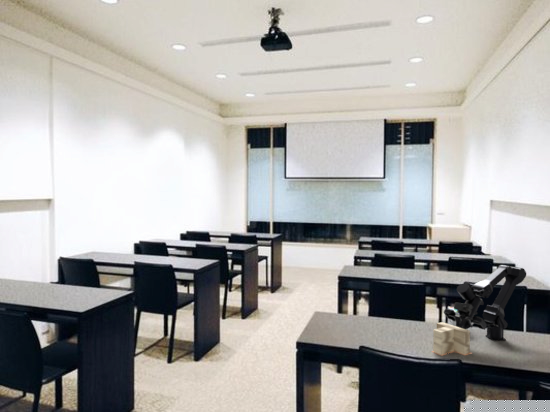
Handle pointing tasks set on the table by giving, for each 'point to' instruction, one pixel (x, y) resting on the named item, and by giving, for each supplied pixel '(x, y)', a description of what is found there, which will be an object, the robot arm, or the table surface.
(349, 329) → the table surface
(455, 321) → the light bulb box
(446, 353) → the t mark
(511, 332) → the table surface
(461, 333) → the beige stepped block
